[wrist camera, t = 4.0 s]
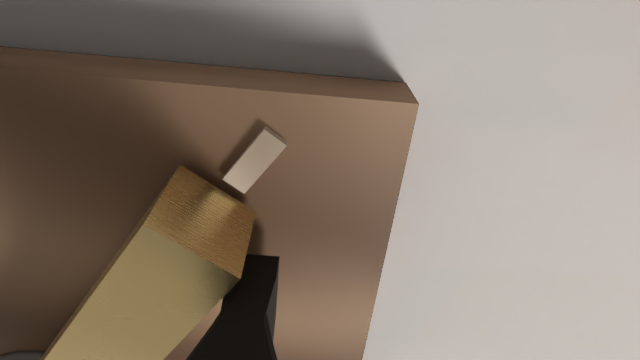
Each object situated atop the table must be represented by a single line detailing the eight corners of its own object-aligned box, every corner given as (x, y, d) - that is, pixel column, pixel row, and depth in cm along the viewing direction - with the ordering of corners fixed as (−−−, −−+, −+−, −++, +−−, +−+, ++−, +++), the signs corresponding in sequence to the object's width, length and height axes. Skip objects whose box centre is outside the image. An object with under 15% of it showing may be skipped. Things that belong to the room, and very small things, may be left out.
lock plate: (331, 451, 18) (333, 496, 17) (-134, 431, 17) (-176, 476, 16) (405, 82, 10) (420, 107, 8) (-502, 1, 9) (-664, 14, 7)
